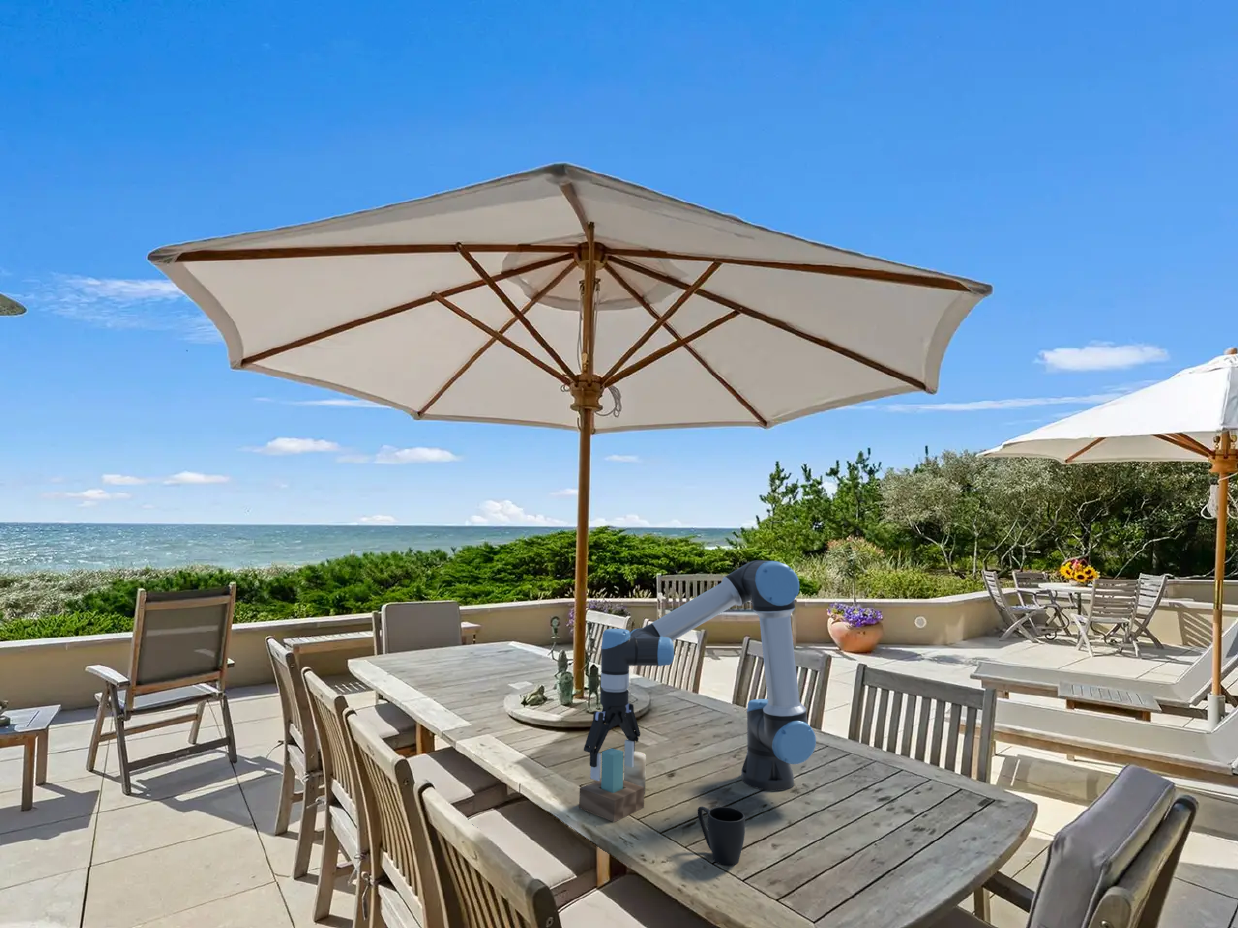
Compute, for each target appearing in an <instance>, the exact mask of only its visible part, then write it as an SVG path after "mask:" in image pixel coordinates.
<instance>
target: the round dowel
mask: <svg viewBox="0 0 1238 928" xmlns="http://www.w3.org/2000/svg"><path fill="white" fill-rule="evenodd" d="M646 763H647V755H646V754H645V753H644V752H641V751H636V750H635V751H634V767H629V766H625V765H624V764H623V780H624V781H627V782H630V783H633V784H636V785H639V786H642V787H644V796H645V795H646V777H647V776H646V775H647V774H646V771H647V769H646V767H647V764H646Z"/></svg>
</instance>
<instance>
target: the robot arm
mask: <svg viewBox="0 0 1238 928" xmlns="http://www.w3.org/2000/svg"><path fill="white" fill-rule="evenodd" d="M799 592H800V581H799V577H798V575H797V574H796V572H795V571H794V569H793V568H792V567H790V566H789V565H788V564H786V563H784V562H783V563H782V562H780V561H777V560H762V559H757V560H751V561H749V562H747V563H745V564H743V565H742V566H740V567H738V568H737V569H735V570H734V571H732V572H731V573H729V574H727V575H725V576H724V577H722V580H721V582H720V583H718V584H717V585H715V586H713V587H712V588H709V589H708V590H706V591H705V592H703V593H701V594H699V595H697V596H696V597H694V598H692V599H690V600H689V601H687V602H686V603H684V604H682V605H680V606H679V607H677V608H675V609H673V610H672V611H670V612H668V613H666V614H665V615H663V616H660V618H658V619H656V620H654V621H653V622H651V623H649V624H647V625H645V626H643V627H641V628H640V627H639V628H635V629H633V630H632V631H630V630H628V629H625V628H607V629H605V630H604V631H603V632H602V637H601V639H602V640H601V646H600V647H601V651H600V652H601V655H600V658H601V659H600V661H601V664H600V670H601V671H600V687H601V689H600V694H599V696H600V697H599V699H600V700H599V703H600V704H601V705H602V710H601V711H596V710H594V712H593V716H592V722H591V725H590V728H589V731H588V735H587V737H586V740H585V744H584V747H583V752H585V753H586V752H587V753H589V767H590V774H589V775H590V777H589V778H590V779H591V780H594V781H595V782H596V781H600V779H601V767H602V753H601V752H600V750H601V748H602V746H603V744H604V742H605V740H606V737H607V736H608V733H609V732H610V731H611V730H612V729H613V728H615V727H616V726H619V728H620V730H622V732H623V734H624V736H625V737H626V739H625V740H624V751H623V766H624V765H625V766H629V767H634V751H635V752H636V749H635V747H636V742H638V741H639V737H640V736H641V730H640V727H639V725H638V724H639V723H638V721H637V717H636V715H635V708H634V704H633V703H629V693H630V692H629V690H628V689H629V688H630V667H637V666H638V667H639V666H640V667H643V666H644V667H646V666H647V667H650V666H651V667H663V666H664V667H665V666H670V665H672V663H673V662H674V657H675V648H674V647H675V646H674V641H675V640H677V639H678V638H680V637H682V636H684V635H686V634H687V633H689V632H691V631H692V630H695V629H696V628H698V627H699V626H701V625H702V624H703V625H704V624H705V623H707V622H708V621H710V620H712V619H713V618H715V617H716V616H718V615H720V614H722V613H724V612H725V611H727V610H729V609H730V608H732V607H734V606H738V607H741V606H742V605H744V604H746V603H748V602H752V611H753V612H754V613H755V614H756V615H757V616H758V617H759V625H760V637H761V647H762V657H763V666H764V667H763V669H764V676H765V685H766V686H765V687H766V695H767V698H756V699H751V700H749V701H748V703H747V709H746V720H747V721H746V724H747V725H746V731H747V733H746V737H747V738H746V739H747V741H746V743H747V745H746V746H747V749H746V751H747V752H746V755H745V757H744V761H743V764H742V768H741V777H740V779H741V781H742V782H743V783H744V784H745V785H748V786H750V787H752V788H755V789H760V790H764V791H784V790H789V789H791V788H792V787H794V784H795V774H794V772H793V768H792V765H799V764H803V763H804V762H806V761H807V760H808V759H810V757H811V755H813V754H814V752H815V748H816V745H817V737H816V734H815V730H813V728H812V726H810V724H808V716H807V708H806V706H804V705H803V703H801V702H800V694H799V693H800V692H799V685H798V678H797V677H798V675H797V667H796V658H795V657H796V656H795V648H794V639H793V638H794V637H793V628H792V619H791V615H792V613H794V611H795V610H796V602H795V599H796V598H797V596H798V594H799Z"/></svg>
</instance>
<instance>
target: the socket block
mask: <svg viewBox="0 0 1238 928" xmlns="http://www.w3.org/2000/svg"><path fill="white" fill-rule="evenodd" d="M578 797H579V801H578V802H579V804H578V805H579V806H578V808H579V810H583V811H586V812H588V813H591V814H593V815H596V816H599V817H601V818H603V819H606V820H608V821H610V822H614V823H616V822H617V821H619V820H621V819H623V818H625V817H627V816H629V815H632V814H633V813H636V812H637V811H640V810H642V809H643V808H645V795H644V787H642V786H639V785H636V784H633V783H630V782H627V781H624V779H623V789H622V790H619V791H617V792H615V793H612V792H609V791H606V790H603V789H601V778H600V781H596V780H595V781H594V782H591V783H589V784H586V785H584V786H581V787H579V796H578Z"/></svg>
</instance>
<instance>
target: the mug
mask: <svg viewBox="0 0 1238 928" xmlns="http://www.w3.org/2000/svg"><path fill="white" fill-rule="evenodd" d="M704 812H705V813H706V814H707V822H706V821H705V818H704ZM697 817H698V821H699V825H700V828H701V830H702V834H703V836H704V839H705V842H706V844H707V847H708V849H709V850H710V851H711V854H712V858H713V861H714V862H716V864H719V865H721V866H726V867H727V866H728V867H731V866H735V865H737V864H738V863H739V861H740V858H741V854H742V850H743V845H744V840H745V834H746V816H745V813H744V812H742V811H741V810H739V809H736V808H734V807H731V806H716V807H712V808H710V809H709V808H707V807H705V806H699V807H698V808H697ZM706 823H707V824H706Z"/></svg>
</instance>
